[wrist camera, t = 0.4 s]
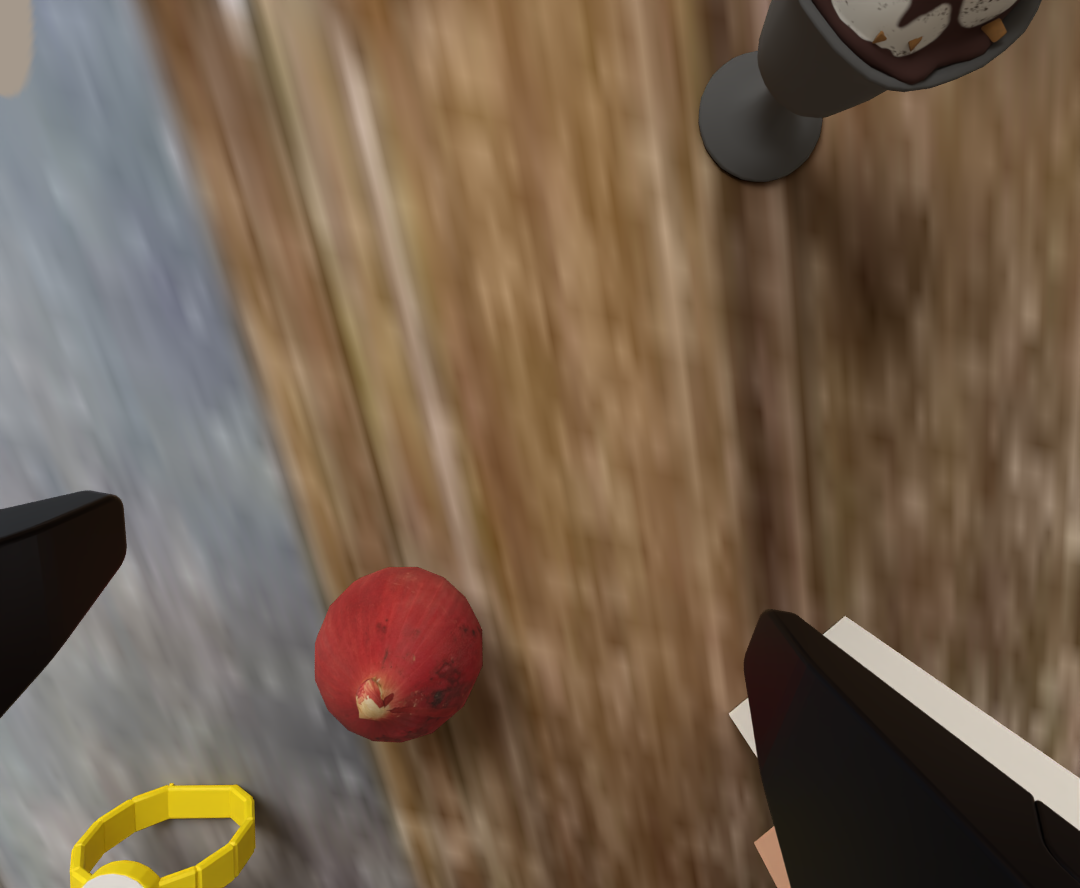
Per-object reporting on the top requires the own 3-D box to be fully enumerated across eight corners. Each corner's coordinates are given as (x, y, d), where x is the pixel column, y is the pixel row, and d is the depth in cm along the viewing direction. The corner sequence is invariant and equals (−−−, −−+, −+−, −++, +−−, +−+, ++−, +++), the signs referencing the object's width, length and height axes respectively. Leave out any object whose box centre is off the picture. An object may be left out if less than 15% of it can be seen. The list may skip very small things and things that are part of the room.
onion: (508, 577, 26) (506, 660, 18) (454, 701, 27) (428, 834, 19) (378, 523, 26) (317, 583, 18) (325, 649, 26) (241, 763, 18)
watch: (140, 825, 27) (21, 948, 21) (138, 763, 27) (16, 870, 21) (279, 831, 27) (198, 958, 21) (278, 769, 27) (195, 879, 21)
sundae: (876, 128, 25) (1399, -247, 10) (746, 238, 25) (1074, 26, 10) (776, -8, 25) (1176, -617, 10) (643, 105, 25) (834, -321, 10)
